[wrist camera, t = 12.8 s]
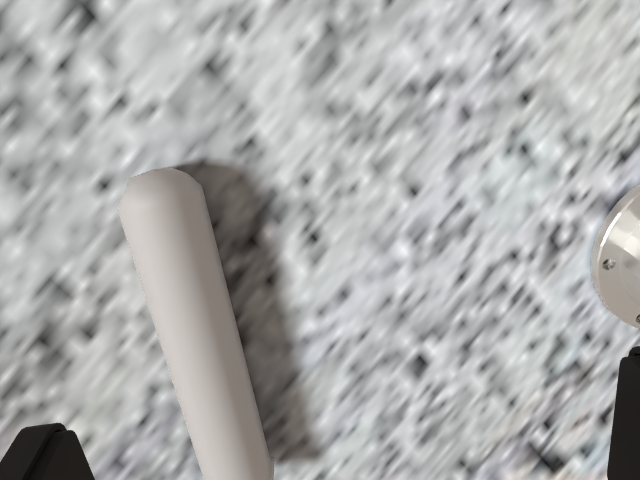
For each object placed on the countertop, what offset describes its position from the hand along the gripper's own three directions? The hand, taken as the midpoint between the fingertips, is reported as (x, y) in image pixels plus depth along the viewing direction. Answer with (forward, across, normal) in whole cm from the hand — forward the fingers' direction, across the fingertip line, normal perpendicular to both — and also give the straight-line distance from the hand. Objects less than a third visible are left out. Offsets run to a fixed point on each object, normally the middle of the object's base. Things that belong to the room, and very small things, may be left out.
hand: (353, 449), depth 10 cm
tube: (+27, +9, +14) cm, 31 cm away
